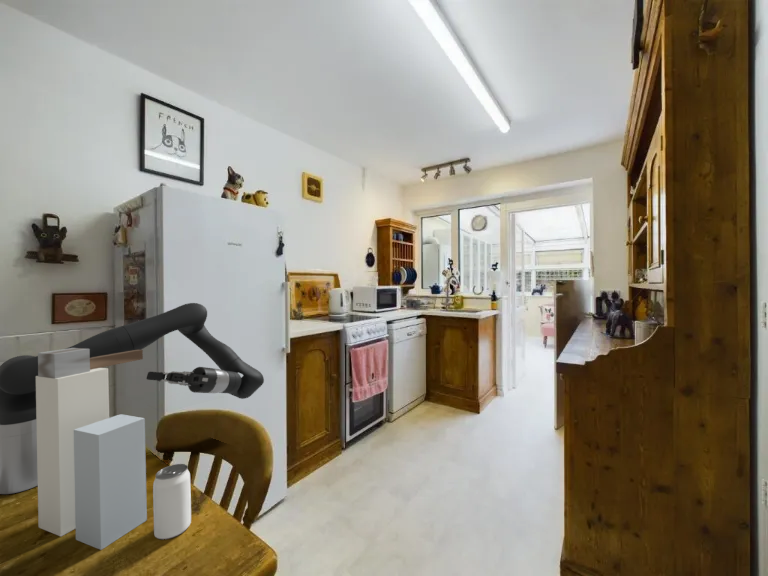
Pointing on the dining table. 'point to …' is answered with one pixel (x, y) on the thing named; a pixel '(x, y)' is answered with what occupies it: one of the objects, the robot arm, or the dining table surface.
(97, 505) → the short pedestal
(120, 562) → the dining table surface
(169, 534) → the can
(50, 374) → the mallet
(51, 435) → the tall pedestal
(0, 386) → the robot arm
